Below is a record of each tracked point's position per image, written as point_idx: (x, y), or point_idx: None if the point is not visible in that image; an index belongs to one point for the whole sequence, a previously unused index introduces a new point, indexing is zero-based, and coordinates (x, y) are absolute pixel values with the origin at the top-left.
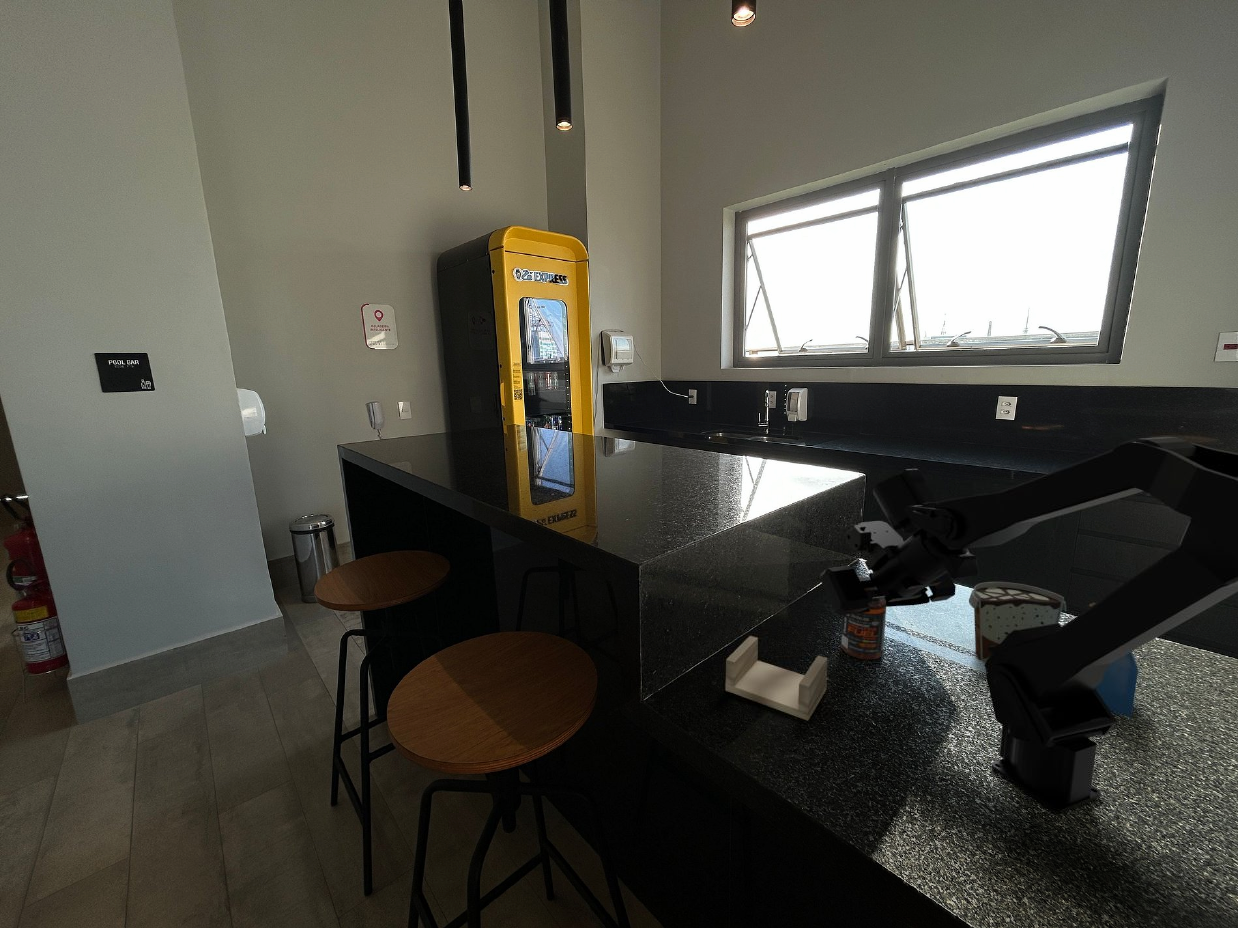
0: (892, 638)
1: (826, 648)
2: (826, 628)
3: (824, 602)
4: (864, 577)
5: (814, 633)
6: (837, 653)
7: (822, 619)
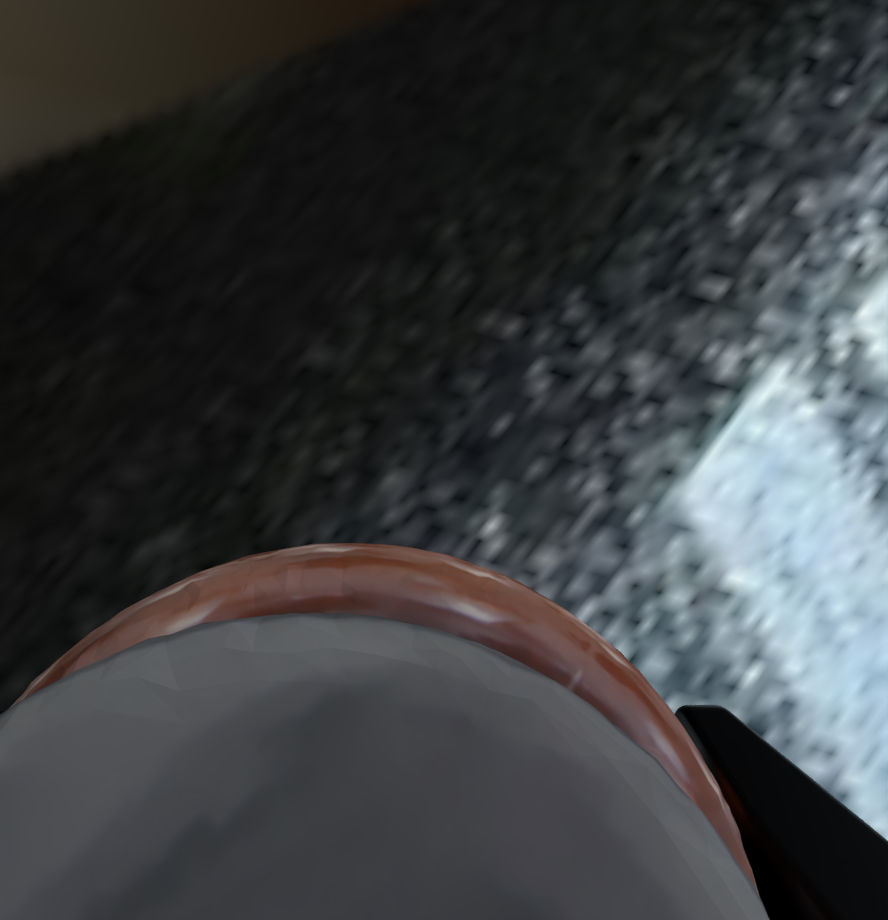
0: (794, 690)
1: None
2: (367, 389)
3: (624, 55)
4: (515, 796)
5: (215, 432)
6: None
7: (435, 260)
